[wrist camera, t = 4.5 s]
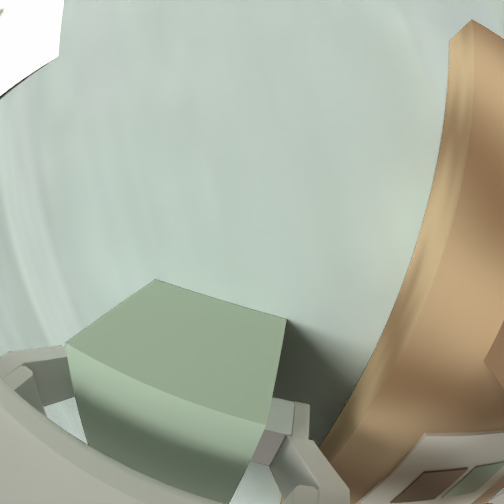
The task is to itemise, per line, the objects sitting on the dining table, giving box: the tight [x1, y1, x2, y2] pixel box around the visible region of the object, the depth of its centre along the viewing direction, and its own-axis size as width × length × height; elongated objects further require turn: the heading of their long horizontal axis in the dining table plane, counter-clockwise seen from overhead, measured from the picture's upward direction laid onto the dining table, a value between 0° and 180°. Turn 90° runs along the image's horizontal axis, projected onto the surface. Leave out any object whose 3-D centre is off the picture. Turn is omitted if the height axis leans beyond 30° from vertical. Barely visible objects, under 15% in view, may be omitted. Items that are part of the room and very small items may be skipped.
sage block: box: [65, 279, 287, 504], centre depth 9 cm, size 5×5×5 cm
